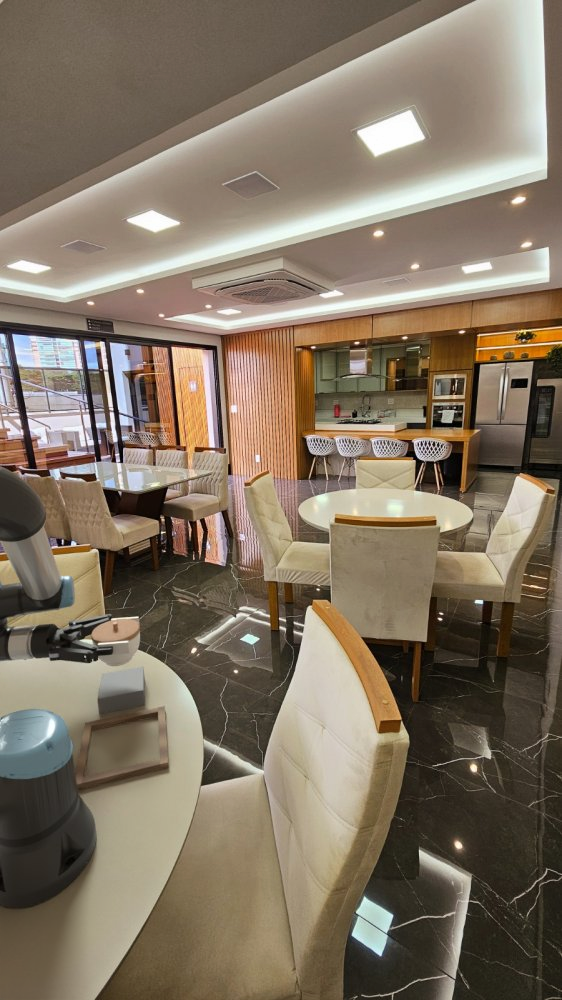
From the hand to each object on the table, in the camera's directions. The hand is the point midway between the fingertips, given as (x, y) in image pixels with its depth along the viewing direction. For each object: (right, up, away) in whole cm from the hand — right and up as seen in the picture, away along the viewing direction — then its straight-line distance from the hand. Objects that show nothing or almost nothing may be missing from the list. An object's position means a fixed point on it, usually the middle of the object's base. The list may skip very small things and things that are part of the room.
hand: (134, 633), depth 103 cm
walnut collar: (+2, -19, -13) cm, 23 cm away
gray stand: (-4, -16, +3) cm, 17 cm away
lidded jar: (-4, -6, +1) cm, 8 cm away
